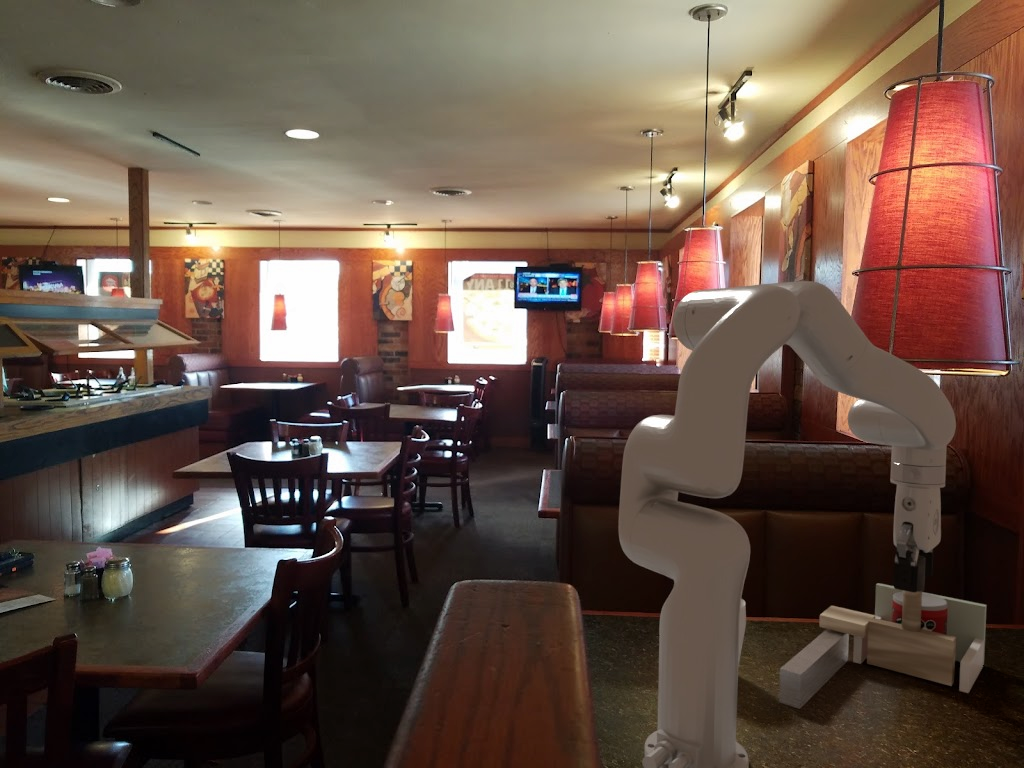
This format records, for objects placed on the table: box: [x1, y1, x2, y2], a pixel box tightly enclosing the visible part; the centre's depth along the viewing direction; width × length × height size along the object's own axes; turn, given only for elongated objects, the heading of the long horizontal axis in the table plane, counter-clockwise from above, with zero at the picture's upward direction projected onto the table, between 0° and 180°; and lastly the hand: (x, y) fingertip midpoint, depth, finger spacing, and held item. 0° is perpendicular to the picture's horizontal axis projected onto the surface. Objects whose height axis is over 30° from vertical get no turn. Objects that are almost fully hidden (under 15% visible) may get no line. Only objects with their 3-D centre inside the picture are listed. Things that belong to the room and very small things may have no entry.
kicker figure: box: [818, 554, 956, 687], centre depth 119 cm, size 6×19×18 cm, turn 49°
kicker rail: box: [778, 628, 850, 710], centre depth 115 cm, size 22×3×5 cm, turn 139°
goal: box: [852, 583, 988, 694], centre depth 122 cm, size 13×16×10 cm
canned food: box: [892, 592, 948, 635], centre depth 121 cm, size 8×8×11 cm
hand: (913, 582), depth 117 cm, fingers open, 9 cm apart
